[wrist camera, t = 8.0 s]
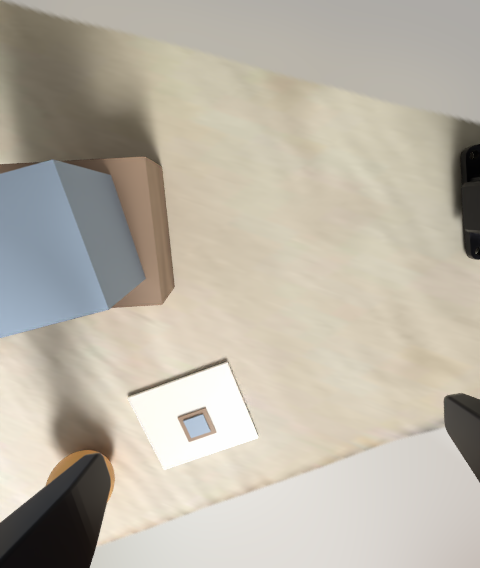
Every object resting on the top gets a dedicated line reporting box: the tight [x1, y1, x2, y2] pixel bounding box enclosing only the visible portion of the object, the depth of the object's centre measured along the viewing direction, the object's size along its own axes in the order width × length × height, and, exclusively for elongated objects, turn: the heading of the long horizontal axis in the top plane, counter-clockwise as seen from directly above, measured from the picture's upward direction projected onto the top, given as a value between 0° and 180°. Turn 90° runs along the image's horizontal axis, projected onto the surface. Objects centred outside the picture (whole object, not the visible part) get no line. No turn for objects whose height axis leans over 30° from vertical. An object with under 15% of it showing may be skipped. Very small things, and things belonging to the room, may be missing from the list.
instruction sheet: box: [128, 361, 259, 470], centre depth 22 cm, size 7×6×1 cm
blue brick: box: [0, 159, 146, 338], centre depth 13 cm, size 5×5×5 cm
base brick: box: [0, 156, 175, 308], centre depth 17 cm, size 7×7×4 cm
